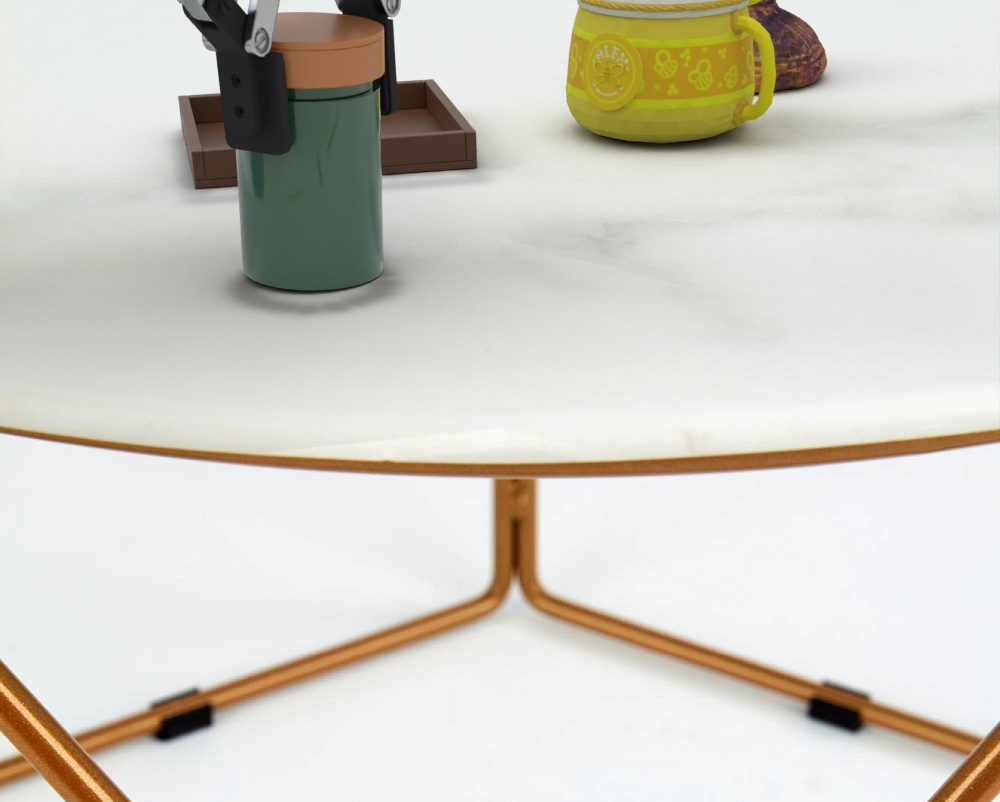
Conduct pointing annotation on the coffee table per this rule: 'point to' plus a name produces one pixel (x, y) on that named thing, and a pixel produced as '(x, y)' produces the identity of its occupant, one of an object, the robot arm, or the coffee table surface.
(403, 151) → the tray
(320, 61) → the lid
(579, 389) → the coffee table surface
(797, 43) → the dark brown rounded piece
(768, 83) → the mug
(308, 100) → the jar
